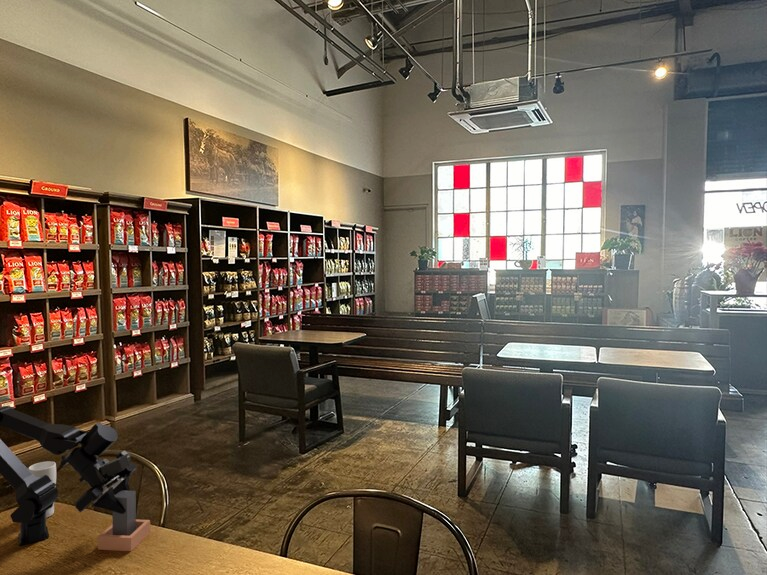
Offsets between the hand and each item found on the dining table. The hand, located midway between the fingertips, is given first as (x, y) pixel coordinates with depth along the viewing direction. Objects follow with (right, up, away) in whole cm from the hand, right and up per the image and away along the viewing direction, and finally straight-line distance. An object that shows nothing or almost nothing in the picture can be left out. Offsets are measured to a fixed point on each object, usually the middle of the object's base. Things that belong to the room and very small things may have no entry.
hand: (129, 508), depth 131 cm
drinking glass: (-32, -8, +13) cm, 36 cm away
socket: (-1, -9, 0) cm, 9 cm away
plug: (-1, -7, 0) cm, 7 cm away
